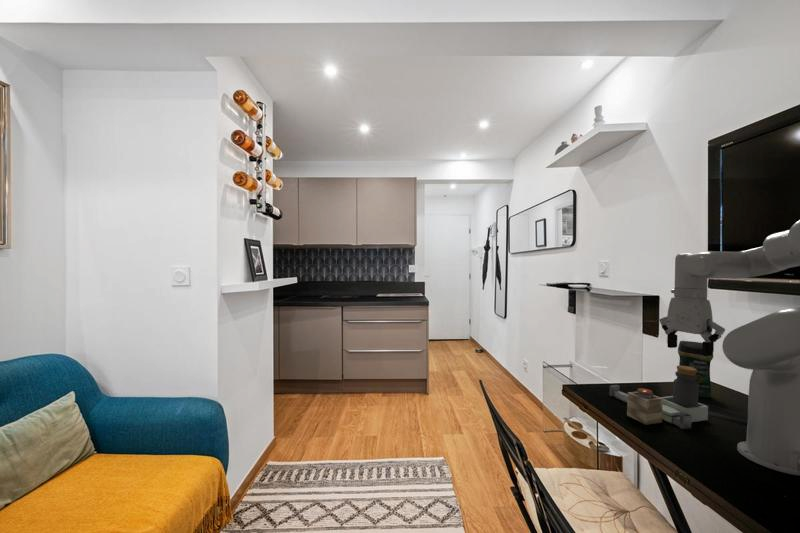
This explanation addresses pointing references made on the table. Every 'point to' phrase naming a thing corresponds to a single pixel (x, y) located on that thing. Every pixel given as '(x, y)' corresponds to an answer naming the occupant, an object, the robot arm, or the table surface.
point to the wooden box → (644, 408)
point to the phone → (727, 414)
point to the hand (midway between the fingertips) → (689, 351)
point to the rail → (681, 421)
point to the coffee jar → (696, 365)
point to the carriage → (682, 410)
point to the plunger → (645, 393)
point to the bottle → (685, 387)
